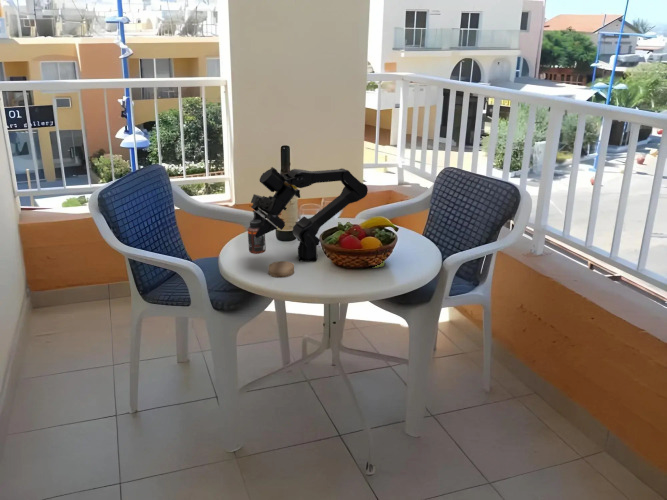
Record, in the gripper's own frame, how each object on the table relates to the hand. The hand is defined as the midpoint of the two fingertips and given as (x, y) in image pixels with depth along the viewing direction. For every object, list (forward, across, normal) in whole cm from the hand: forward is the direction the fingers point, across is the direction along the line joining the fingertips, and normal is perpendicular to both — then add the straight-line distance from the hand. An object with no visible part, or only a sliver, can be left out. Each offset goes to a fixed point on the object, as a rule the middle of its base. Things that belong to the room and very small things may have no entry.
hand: (252, 234), depth 202 cm
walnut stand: (+4, +8, +14) cm, 17 cm away
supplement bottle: (+4, 0, +6) cm, 7 cm away
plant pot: (-19, +17, +38) cm, 45 cm away
